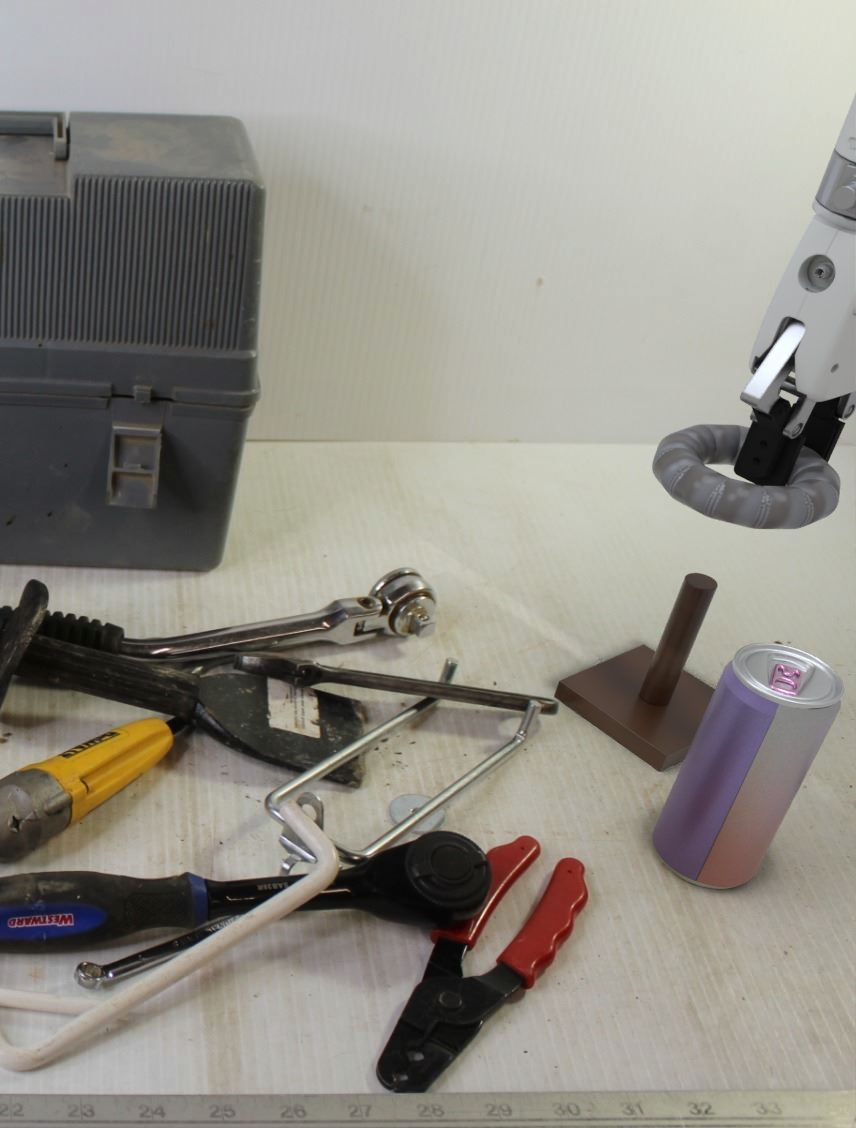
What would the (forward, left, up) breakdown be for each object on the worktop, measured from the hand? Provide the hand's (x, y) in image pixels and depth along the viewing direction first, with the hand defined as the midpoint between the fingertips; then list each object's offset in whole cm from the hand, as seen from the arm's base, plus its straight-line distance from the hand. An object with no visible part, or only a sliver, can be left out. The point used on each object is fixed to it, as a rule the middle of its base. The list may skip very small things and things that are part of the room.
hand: (777, 472), depth 85 cm
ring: (+4, 0, +1) cm, 4 cm away
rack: (+4, 0, -19) cm, 19 cm away
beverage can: (+13, +11, -19) cm, 25 cm away
